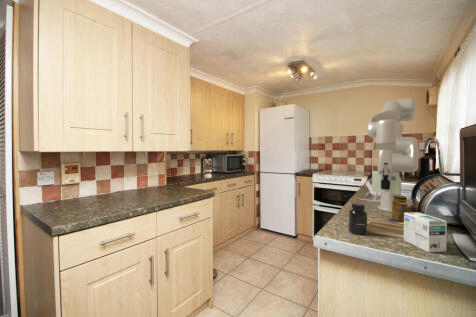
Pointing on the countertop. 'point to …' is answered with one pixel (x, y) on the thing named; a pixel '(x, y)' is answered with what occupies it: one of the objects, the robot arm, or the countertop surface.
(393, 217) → the condiment
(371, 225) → the bottom track
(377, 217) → the countertop surface
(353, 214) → the supplement bottle
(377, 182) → the door panel
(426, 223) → the light bulb box
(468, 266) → the countertop surface
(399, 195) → the robot arm
